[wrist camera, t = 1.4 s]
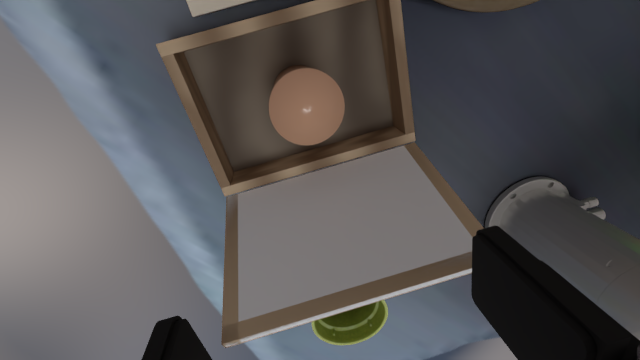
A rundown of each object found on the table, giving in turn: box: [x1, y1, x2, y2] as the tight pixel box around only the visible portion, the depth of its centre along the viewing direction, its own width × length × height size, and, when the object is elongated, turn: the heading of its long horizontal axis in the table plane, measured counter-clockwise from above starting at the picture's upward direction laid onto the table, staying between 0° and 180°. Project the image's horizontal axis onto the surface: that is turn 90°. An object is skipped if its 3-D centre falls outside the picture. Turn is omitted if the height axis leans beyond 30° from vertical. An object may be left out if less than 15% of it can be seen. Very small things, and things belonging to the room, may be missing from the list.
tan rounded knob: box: [269, 65, 345, 145], centre depth 28 cm, size 6×6×8 cm
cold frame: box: [156, 0, 416, 196], centre depth 31 cm, size 21×15×4 cm
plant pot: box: [312, 300, 388, 345], centre depth 41 cm, size 9×9×9 cm
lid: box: [222, 142, 484, 348], centre depth 27 cm, size 21×15×1 cm
